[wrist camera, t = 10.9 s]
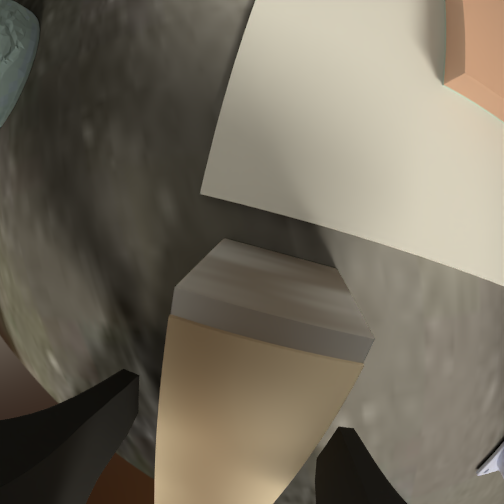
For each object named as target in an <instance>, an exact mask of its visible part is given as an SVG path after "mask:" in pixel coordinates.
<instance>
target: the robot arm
mask: <svg viewBox="0 0 504 504" xmlns="http://www.w3.org/2000/svg"><path fill="white" fill-rule="evenodd" d="M138 393H139V375H137V374H135V373H132V372H130V371H128V370H125V369H123V370H121V371H119V372H117V373H116V374H114V375H112V376H111V377H109V378H107V379H106V380H104V381H102V382H101V383H99V384H97V385H95V386H94V387H92V388H90V389H88V390H86V391H84V392H82V393H81V394H79V395H77V396H75V397H73V398H70V399H68V400H66V401H64V402H62V403H59V404H57V405H55V406H52V407H50V408H47V409H44V410H41V411H38V412H35V413H32V414H28V415H24V416H20V417H16V418H11V419H5V420H0V504H86V502H87V500H88V497H89V495H90V493H91V491H92V489H93V487H94V485H95V483H96V481H97V479H98V478H99V476H100V474H101V473H102V471H103V470H104V468H105V467H106V465H107V464H108V462H109V461H110V459H111V458H112V456H113V455H114V453H115V452H116V450H117V449H118V447H119V446H120V444H121V443H122V441H123V440H124V438H125V437H126V435H127V434H128V432H129V430H130V428H131V426H132V424H133V422H134V420H135V418H136V416H137V414H138ZM497 470H499V471H500V473H501V475H502V477H503V479H504V442H503V443H502V444H501V445H500V446H499V448H498V449H497V450H496V451H495V452H494V453H493V454H492V455H491V457H490V458H489V459H488V460H487V461H486V462H485V463H484V464H483V465H482V466H481V467H480V468H479V469H478V470H477V472H476V474H477V476H480V475H483V474H487V473H491V472H494V471H497ZM315 489H316V504H407V503H406V502H405V501H404V500H403V499H402V497H401V496H400V495H399V494H398V493H397V492H396V490H395V489H394V488H393V486H392V485H391V484H390V483H389V481H388V480H387V479H386V477H385V476H384V474H383V473H382V472H381V470H380V469H379V467H378V466H377V464H376V463H375V461H374V460H373V458H372V457H371V455H370V453H369V452H368V450H367V449H366V447H365V445H364V444H363V442H362V441H361V439H360V437H359V436H358V434H357V433H356V431H355V430H354V428H346V427H338V428H337V430H336V431H335V433H334V434H333V436H332V437H331V439H330V440H329V442H328V443H327V445H326V446H325V447H324V449H323V450H322V452H321V453H320V454H319V456H318V457H317V463H316V475H315Z"/></svg>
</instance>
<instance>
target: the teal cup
mask: <svg viewBox="0 0 504 504" xmlns="http://www.w3.org/2000/svg"><path fill="white" fill-rule="evenodd" d="M39 32H40V28H39V22H38V20H37V17H36V16H35V15H34V14H33V13H32V12H31V11H29V10H28V9H27V8H25V7H23V6H22V5H20V4H18V3H17V2H15V1H13V0H0V127H1V126H2V125H3V123H4V122H5V121H6V119H7V118H8V116H9V114H10V113H11V111H12V110H13V108H14V106H15V104H16V102H17V100H18V98H19V96H20V94H21V92H22V90H23V87H24V85H25V83H26V81H27V78H28V75H29V73H30V70H31V67H32V64H33V61H34V58H35V55H36V51H37V47H38V42H39Z"/></svg>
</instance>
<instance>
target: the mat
mask: <svg viewBox="0 0 504 504" xmlns="http://www.w3.org/2000/svg"><path fill="white" fill-rule="evenodd" d="M444 56H445V4H444V0H255V3H254V6H253V9H252V12H251V14H250V17H249V20H248V23H247V26H246V29H245V32H244V35H243V38H242V41H241V44H240V47H239V50H238V54H237V57H236V60H235V63H234V66H233V70H232V73H231V76H230V80H229V83H228V86H227V90H226V93H225V97H224V100H223V104H222V108H221V111H220V115H219V119H218V122H217V126H216V130H215V134H214V138H213V141H212V145H211V149H210V153H209V157H208V162H207V166H206V170H205V174H204V178H203V183H202V187H201V191H200V194H202V195H206V196H210V197H214V198H219V199H223V200H227V201H231V202H235V203H239V204H243V205H246V206H250V207H254V208H258V209H262V210H266V211H270V212H273V213H277V214H281V215H284V216H288V217H292V218H295V219H299V220H303V221H306V222H310V223H313V224H317V225H320V226H324V227H327V228H331V229H334V230H338V231H341V232H344V233H348V234H351V235H354V236H358V237H361V238H364V239H368V240H371V241H374V242H377V243H380V244H384V245H387V246H390V247H393V248H396V249H399V250H402V251H405V252H409V253H412V254H415V255H418V256H421V257H424V258H427V259H430V260H433V261H436V262H438V263H441V264H444V265H447V266H450V267H453V268H456V269H459V270H461V271H464V272H467V273H470V274H473V275H475V276H478V277H481V278H483V279H486V280H489V281H492V282H494V283H497V284H499V285H502V286H504V123H502V122H501V121H499V120H498V119H496V118H495V117H494V116H492V115H491V114H489V113H488V112H486V111H485V110H483V109H481V108H480V107H478V106H477V105H475V104H474V103H472V102H470V101H469V100H467V99H465V98H464V97H462V96H460V95H458V94H457V93H455V92H453V91H451V90H449V89H448V88H446V87H444V86H442V84H443V72H444Z"/></svg>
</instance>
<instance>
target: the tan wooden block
mask: <svg viewBox="0 0 504 504" xmlns="http://www.w3.org/2000/svg"><path fill="white" fill-rule="evenodd" d="M374 340H375V338H374V336H373V334H372V332H371V330H370V329H369V327H368V325H367V323H366V321H365V319H364V317H363V315H362V313H361V311H360V310H359V308H358V306H357V304H356V302H355V300H354V298H353V297H352V295H351V293H350V291H349V289H348V288H347V286H346V284H345V282H344V280H343V279H342V277H341V275H340V273H339V271H338V270H337V269H336V268H332V267H329V266H325V265H322V264H318V263H314V262H311V261H307V260H303V259H300V258H296V257H292V256H289V255H285V254H281V253H278V252H274V251H270V250H267V249H263V248H259V247H256V246H252V245H248V244H244V243H241V242H237V241H233V240H230V239H226V238H224V239H223V240H222V241H221V242H220V243H219V244H218V245H217V246H216V247H215V248H213V249H212V250H211V251H210V252H209V253H208V254H207V255H206V256H205V257H204V258H203V259H202V260H201V261H200V262H199V263H198V264H197V265H196V266H195V267H194V268H193V269H192V270H191V271H190V272H189V273H188V274H187V275H186V276H185V277H184V278H183V279H182V280H181V281H180V282H179V283H178V284H177V285H176V286H175V288H174V295H173V301H172V308H171V314H170V315H169V318H168V325H167V333H166V340H165V348H164V357H163V366H162V375H161V385H160V396H159V408H158V421H157V437H156V457H155V504H273V503H274V502H275V500H276V499H277V498H278V497H279V496H280V494H281V493H282V492H283V491H284V489H285V488H286V487H287V486H288V484H289V483H290V482H291V481H292V479H293V478H294V477H295V475H296V474H297V473H298V471H299V470H300V469H301V467H302V466H303V465H304V463H305V462H306V460H307V459H308V458H309V456H310V455H311V453H312V452H313V450H314V449H315V448H316V446H317V445H318V443H319V442H320V440H321V439H322V437H323V436H324V434H325V432H326V431H327V429H328V428H329V426H330V425H331V423H332V421H333V420H334V418H335V417H336V415H337V413H338V412H339V410H340V408H341V407H342V405H343V403H344V402H345V400H346V398H347V396H348V395H349V393H350V391H351V389H352V388H353V386H354V384H355V382H356V380H357V378H358V377H359V375H360V373H361V371H362V369H363V367H364V365H363V362H364V360H365V358H366V356H367V354H368V352H369V350H370V348H371V346H372V344H373V342H374Z"/></svg>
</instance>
